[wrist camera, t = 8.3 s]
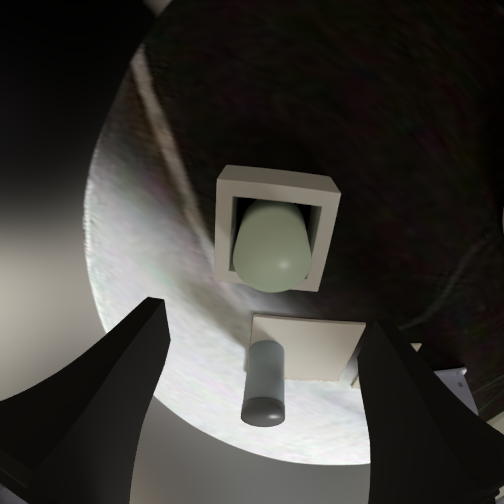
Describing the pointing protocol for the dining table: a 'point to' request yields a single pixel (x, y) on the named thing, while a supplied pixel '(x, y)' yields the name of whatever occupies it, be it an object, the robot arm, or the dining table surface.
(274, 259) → the plunger
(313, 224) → the button collar
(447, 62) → the dining table surface
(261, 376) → the grey capped cylinder
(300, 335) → the paper
